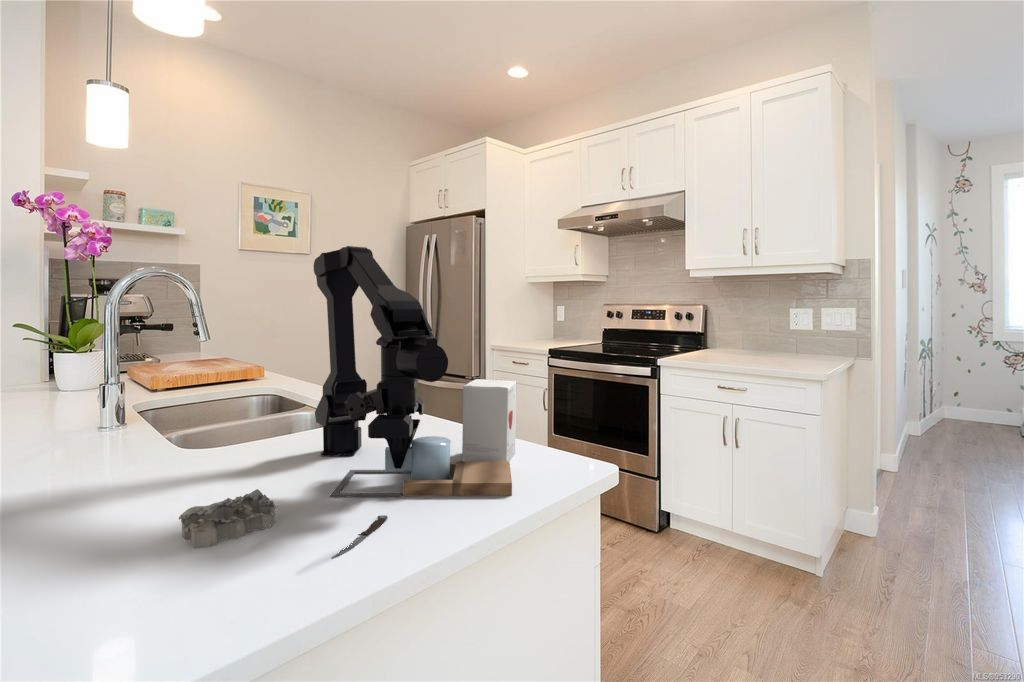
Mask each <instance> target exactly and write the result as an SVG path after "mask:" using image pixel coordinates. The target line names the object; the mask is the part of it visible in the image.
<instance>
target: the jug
mask: <svg viewBox="0 0 1024 682" xmlns="http://www.w3.org/2000/svg"><path fill="white" fill-rule="evenodd" d="M450 461H451V440H450V438H447V437H444V436H435V435H434V436H433V435H429V436H427V435H426V436H420V437H416V438H413V440H412V442H411V446H410V447H409V449H408V452H407V454H406V457H405V460H404V463H403V465H402V468H400V469H396V468H395V467H394V464H393V460H392V457H391V453H390V449H389V446H386V447H385V449H384V464H385V465H384V467H385V468H384V470H385V471H388V470H411V473H410V474H411V475H410V480H451V475H450Z"/></svg>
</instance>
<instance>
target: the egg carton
mask: <svg viewBox="0 0 1024 682" xmlns="http://www.w3.org/2000/svg"><path fill="white" fill-rule="evenodd" d="M277 509H278V510H279V509H280V506H279V505H276V504H275V503H274V500H273V499H270V497H267V495H266V494H263V492H261V490H259V489H258V488H257V489H255V490H252V491H251V492H249V493H246V494H244V495H243V496H241V495H240V496H235V498H234V499H231V498H230V497H227V498H225V499H224V500H223V501H222V500H221V501H218V502H214V503H211V504H209V505H200V506H199V505H198V506H196V505H195V506H191V507H189V508H188V509H186V510H185V511H183V512H182V513H181V514H180V515H179V516H178V520H180V522H181V537H182V539H183V540H184V541H186V540H191V541H190V542H191V547H192V548H193V549H198V548H207V549H209V548H212V547H216V546H217V544H218V543H219V542H222V541H223V540H225V539H226V538H227V539H240V538H242V537H245V535H246V534H247V533H248V532H250V531H254V530H261V531H265V530H268V529H270V528H271V527H272V525H273V524H276V510H277Z"/></svg>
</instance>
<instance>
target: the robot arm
mask: <svg viewBox="0 0 1024 682" xmlns="http://www.w3.org/2000/svg"><path fill="white" fill-rule="evenodd" d="M313 273H314V275H315V277H316V285H317V288H318V289H319V290H320V291H321V293H322V294H323V296H324V298H325V299H326V308H327V309H326V310H327V311H326V312H327V328H328V329H327V330H328V349H329V362H330V363H329V364H330V365H329V366H330V367H329V368H330V373H329V374H328V376H327V378H326V380H325V382H324V383H323V386H322V396H321V398H320V400H319V402H318V404H317V406H316V408H315V411H314V415H315V416H314V417H315V423H317V424H319V425H321V426H322V433H323V434H322V437H323V439H322V442H323V443H322V445H323V446H322V447H323V450H322V451H320V456H330V457H331V456H336V457H337V456H338V457H339V456H342V457H343V456H345V457H346V456H349V457H351V456H355V455H356V453H357V452H358V451H359V450H360V449H361V448H362V427H361V426H359V422H361V421H363V422H364V421H366V419H367V415H368V414H371V413H374V412H375V414H376V415H377V416H376V417H375V418H374V419H373V420H372V421H371V422H369V424H368V425H367V437H368V438H370V439H385V440H386V443H387V447H389V449H390V453H391V457H392V460H393V464H394V467H395V468H396V469H400V468H402V465H403V463H404V460H405V457H406V454H407V452H408V449H409V447H410V446H411V442H412V440H414V439H415V436H416V433H417V430H418V428H419V425H420V423H421V419H420V418H418V419H417V418H413V416H412V415H415V414H416V413H417V412H418V415H420V416H422V415H423V414H424V413H425V401H424V400H423V399H422V398H421V397H420V396H417V386H418V385H419V380H420V381H423V382H428V383H435V382H437V381H439V380H441V379H442V378H443V377H444V375H445V374H446V372H447V370H448V368H449V367H448V366H449V358H448V356H447V353H446V352H445V350H444V349H443V347H442V346H440V345H438V338H437V336H434V333H433V328H432V326H431V325H430V323H429V320H428V319H427V317H426V314H425V311H424V309H423V306H422V304H421V302H420V301H419V299H416V297H414V296H413V295H412V294H411V293H410V292H407V291H405V290H402V289H401V288H400V289H399V288H398V287H397V286H396V285H395V284H394V282H393V281H392V280H391V279H390V278H389V277H388V275H387V273H386V272H385V271H384V270H383V268H382V267H381V266H380V265H379V263H378V262H377V261H376V259H375V257H374V253H373V251H372V249H370V248H368V247H366V246H364V247H363V246H355V245H354V246H353V245H346V246H344V247H341V248H340V249H336V250H332V251H327V252H321V253H320V255H319V256H317V257H315V259H314V261H313ZM359 287H360V289H361V291H362V292H363V293H364V295H365V296H366V298H367V299H368V300H369V302H370V304H371V306H372V307H371V310H370V318H371V319H372V322H373V325H374V326H375V328H376V329H377V331H378V333H379V334H380V335H381V336H380V337H379V338H378V339H377V340H376V341H375V344H376V345H377V346H380V381H379V382H378V383H377V384H376V388H375V389H372V390H368V388H367V387H368V383H367V381H366V379H365V378H362V377H361V376H360V374H359V373H358V372H357V363H356V346H355V344H356V343H355V323H354V305H353V298H354V295H355V294H356V292H357V290H358V289H359Z"/></svg>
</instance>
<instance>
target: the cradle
mask: <svg viewBox="0 0 1024 682" xmlns="http://www.w3.org/2000/svg"><path fill="white" fill-rule="evenodd" d="M510 463H511V462H510V461H462V460H461V461H457V460H456V461H455V460H454V461H453V460H452V461H451V460H450V476H453V478H452V479H450V480H411V479H404V480H403V483H402V496H403V497H405V496H407V497H410V496H418V497H420V496H422V495H423V496H426V495H428V496H430V495H435V496H512V494H513V480H512V471H511V464H510Z"/></svg>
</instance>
